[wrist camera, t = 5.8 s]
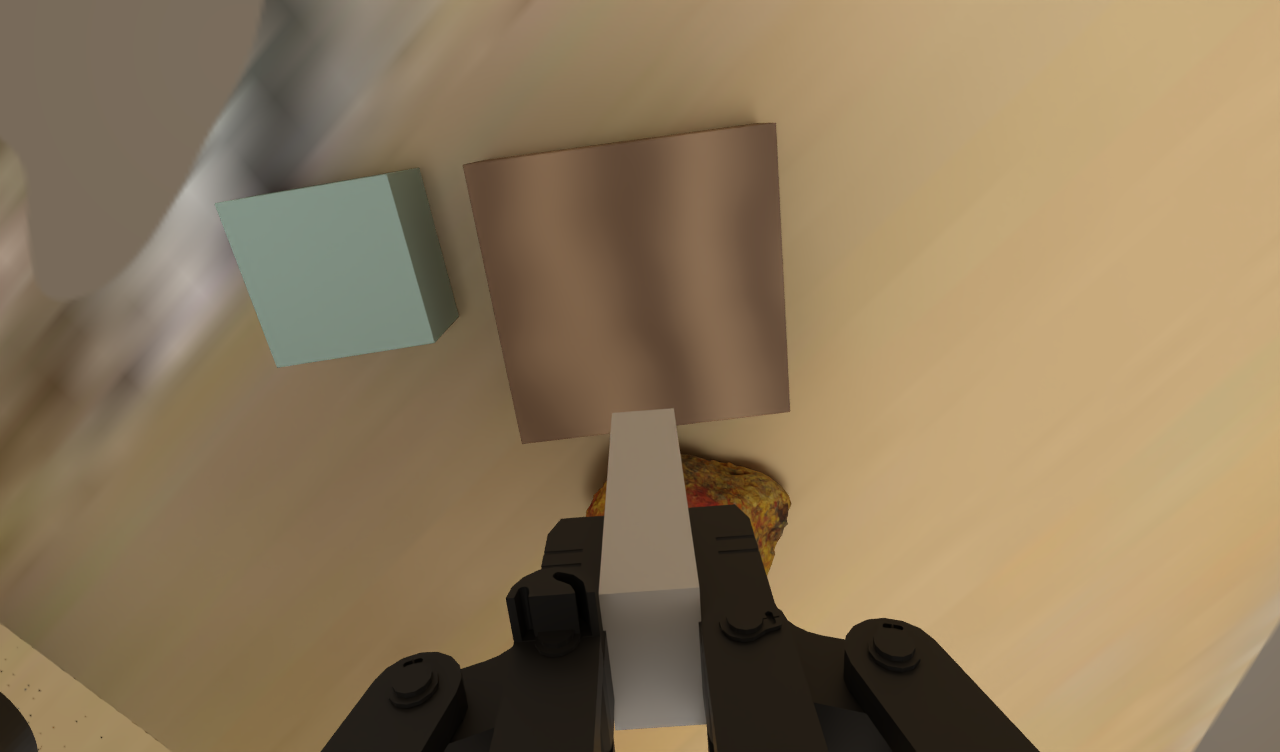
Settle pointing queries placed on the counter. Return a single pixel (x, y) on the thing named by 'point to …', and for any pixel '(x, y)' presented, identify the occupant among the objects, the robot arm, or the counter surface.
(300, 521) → the counter surface
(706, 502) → the rock
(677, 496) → the robot arm
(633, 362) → the walnut block
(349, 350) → the teal block
